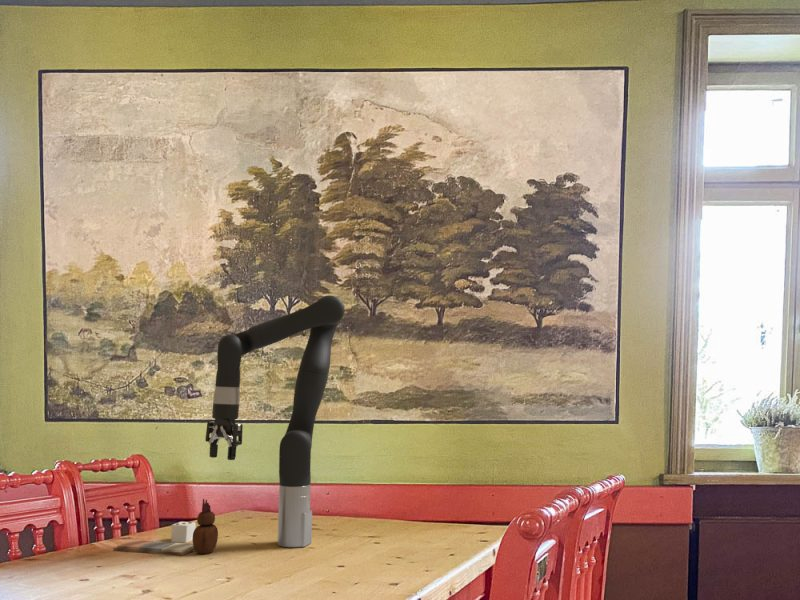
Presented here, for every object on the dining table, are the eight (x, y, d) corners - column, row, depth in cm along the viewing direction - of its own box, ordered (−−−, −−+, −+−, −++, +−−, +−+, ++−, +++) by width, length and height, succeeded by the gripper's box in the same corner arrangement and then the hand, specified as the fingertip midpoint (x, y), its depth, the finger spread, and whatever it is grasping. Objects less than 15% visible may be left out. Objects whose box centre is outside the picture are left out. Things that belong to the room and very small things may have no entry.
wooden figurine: (201, 556, 187) (203, 500, 189) (188, 553, 190) (190, 498, 192) (221, 552, 192) (223, 497, 194) (208, 548, 196) (210, 495, 197)
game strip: (200, 548, 196) (200, 543, 197) (183, 555, 188) (183, 551, 188) (133, 543, 202) (133, 539, 202) (113, 550, 193) (113, 546, 193)
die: (194, 539, 208) (195, 522, 208) (186, 543, 203) (186, 525, 204) (180, 538, 209) (181, 521, 210) (171, 542, 204) (171, 524, 205)
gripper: (251, 403, 200) (247, 460, 198) (222, 401, 209) (217, 455, 207) (230, 403, 194) (226, 461, 192) (201, 401, 203) (196, 457, 201)
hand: (222, 458), depth 199 cm, fingers open, 8 cm apart
